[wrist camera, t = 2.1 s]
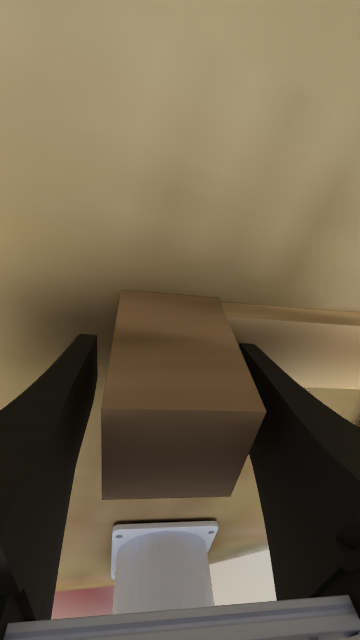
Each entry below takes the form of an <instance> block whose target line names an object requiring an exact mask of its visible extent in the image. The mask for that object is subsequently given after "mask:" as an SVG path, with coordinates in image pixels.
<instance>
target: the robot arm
mask: <svg viewBox="0 0 360 640" xmlns="http://www.w3.org/2000/svg"><path fill="white" fill-rule="evenodd" d="M239 348H240V350H241V353H242V355H243V358H244V360H245V362H246V365H247V367H248V369H249V372H250V374H251V376H252V379H253V381H254V383H255V386H256V388H257V391H258V393H259V395H260V398H261V400H262V402H263V405H264V407H265V409H266V414H265V416H264V419H263V421H262V423H261V426H260V428H259V430H258V433H257V435H256V437H255V440H254V442H253V444H252V447H251V449H250V451H249V455H250V459H251V462H252V466H253V470H254V474H255V479H256V483H257V488H258V492H259V497H260V502H261V507H262V512H263V517H264V522H265V528H266V534H267V539H268V545H269V551H270V557H271V564H272V570H273V577H274V584H275V591H276V598H277V601H269V602H258V603H245V604H233V605H221V606H215V605H214V599H213V591H212V584H211V577H210V570H209V563H208V556H207V554H208V551H209V549H210V547H211V545H212V542H213V540H214V538H215V535H216V533H217V531H218V523H217V522H216V521H194V522H168V523H142V524H119V525H115V526H114V527H113V531H112V558H111V579H113V580H115V585H114V600H113V612H112V613H113V614H112V615H102V616H89V617H77V618H65V619H53V620H51V615H52V608H53V601H54V594H55V588H56V581H57V575H58V568H59V561H60V555H61V549H62V543H63V537H64V530H65V524H66V519H67V513H68V507H69V501H70V495H71V490H72V484H73V479H74V473H75V468H76V463H77V459H78V455H79V451H80V448H81V444H82V441H83V437H84V433H85V430H86V426H87V423H88V419H89V416H90V412H91V408H92V405H93V401H94V395H95V389H96V383H97V376H98V375H97V335H88V334H80V335H78V336H77V337H76V338H75V340H74V341H73V342H72V343H71V344H70V346H69V347H68V348H67V349H66V350H65V351H64V353H63V354H62V355H61V356H60V357H59V358H58V359H57V360H56V361H55V362H54V363H53V364H52V365H51V366H50V368H49V369H48V370H47V371H46V372H45V373H44V374H42V375H41V376H40V377H39V378H38V379H37V380H36V381H35V382H34V383H33V384H32V385H31V386H30V387H29V388H27V389H26V390H25V391H24V392H23V393H22V394H20V395H19V396H18V397H17V398H16V399H14V400H13V401H12V402H11V403H9V404H8V405H7V406H6V407H4V408H3V409H2V410H0V640H360V428H359V427H357V426H356V425H354V424H352V423H351V422H349V421H348V420H346V419H345V418H343V417H342V416H340V415H339V414H337V413H336V412H334V411H333V410H332V409H330V408H329V407H327V406H326V405H324V404H323V403H322V402H320V401H319V400H318V399H316V398H315V397H314V396H313V395H311V394H310V393H309V392H308V391H307V390H305V389H304V388H303V387H302V386H300V385H299V384H298V383H297V382H296V381H295V380H293V379H292V378H291V377H290V376H289V375H288V374H287V373H286V372H284V371H283V370H282V369H281V368H280V367H279V366H278V365H277V364H276V363H275V362H274V361H273V360H271V359H270V358H269V357H268V356H267V355H266V354H265V353H264V352H263V351H262V350H261V349H259V348H258V347H257V346H256V345H255V344H249V343H239Z"/></svg>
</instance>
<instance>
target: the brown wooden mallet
mask: <svg viewBox="0 0 360 640" xmlns="http://www.w3.org/2000/svg"><path fill="white" fill-rule="evenodd" d="M239 343H249V344H255V345H256V346H257V347H258V348H259V349H261V350H262V351H263V352H264V353H265V354H266V355H267V356H268V357H269V358H270V359H271V360H273V361H274V362H275V363H276V364H277V365H278V366H279V367H280V368H281V369H282V370H283V371H284V372H286V373H287V374H288V375H289V376H290V377H291V378H292V379H293V380H295V381H296V382H297V383H298V384H299V385H300V386H302V387H311V388H340V389H360V313H357V312H344V311H331V310H318V309H305V308H292V307H279V306H266V305H253V304H240V303H227V302H220V301H219V299H218V298H217V297H205V296H192V295H180V294H167V293H154V292H142V291H129V290H121V294H120V300H119V306H118V312H117V318H116V324H115V330H114V336H113V342H112V348H111V353H110V359H109V365H108V371H107V377H106V383H105V389H104V395H103V401H102V407H101V434H102V500H113V499H152V498H191V497H230V496H231V494H232V491H233V489H234V487H235V484H236V482H237V480H238V477H239V475H240V473H241V470H242V468H243V466H244V463H245V461H246V458H247V456H248V454H249V451H250V449H251V447H252V444H253V442H254V440H255V437H256V435H257V433H258V430H259V428H260V426H261V423H262V421H263V419H264V416H265V414H266V409H265V407H264V405H263V402H262V400H261V398H260V395H259V393H258V391H257V388H256V386H255V383H254V381H253V379H252V376H251V374H250V372H249V369H248V367H247V365H246V362H245V360H244V358H243V355H242V353H241V350H240V348H239Z"/></svg>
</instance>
